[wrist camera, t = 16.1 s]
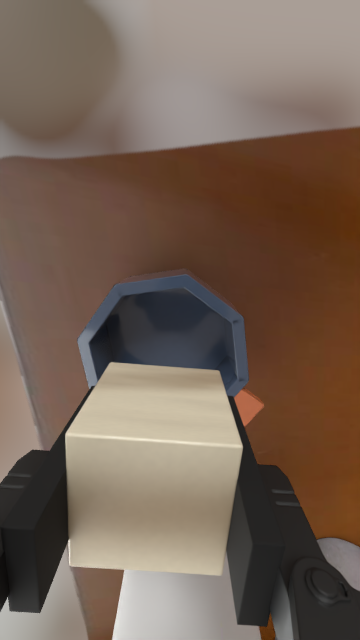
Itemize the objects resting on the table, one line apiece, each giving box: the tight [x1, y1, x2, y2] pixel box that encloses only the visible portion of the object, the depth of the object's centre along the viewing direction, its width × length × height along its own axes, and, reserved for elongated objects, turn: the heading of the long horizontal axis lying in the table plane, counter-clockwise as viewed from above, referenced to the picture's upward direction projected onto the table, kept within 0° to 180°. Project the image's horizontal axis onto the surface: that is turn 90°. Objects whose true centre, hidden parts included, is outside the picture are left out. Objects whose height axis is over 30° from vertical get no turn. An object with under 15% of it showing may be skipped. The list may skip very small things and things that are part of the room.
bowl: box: [77, 268, 264, 427], centre depth 21 cm, size 13×11×5 cm
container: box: [112, 552, 261, 640], centre depth 21 cm, size 10×10×20 cm
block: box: [65, 362, 243, 576], centre depth 11 cm, size 5×5×5 cm
